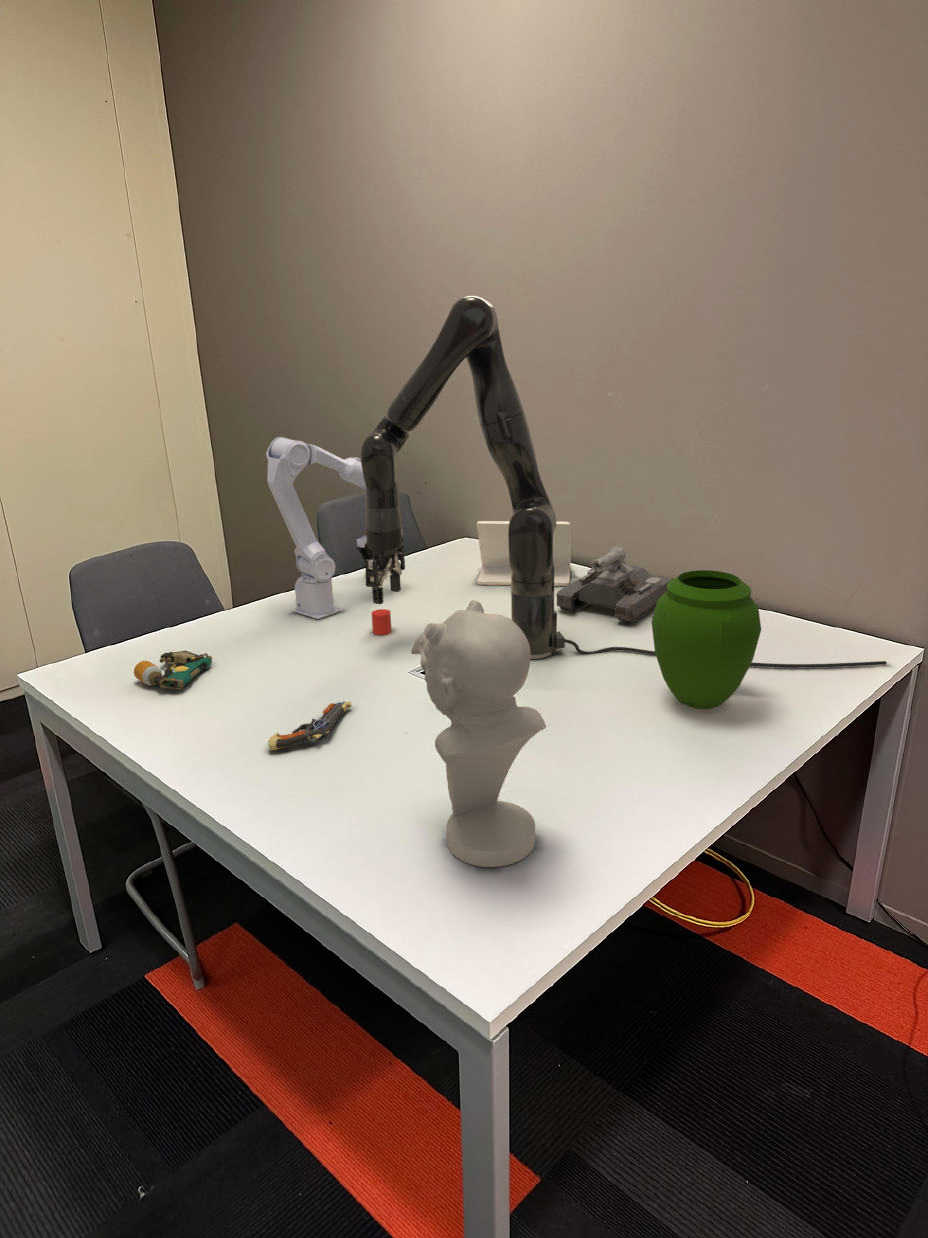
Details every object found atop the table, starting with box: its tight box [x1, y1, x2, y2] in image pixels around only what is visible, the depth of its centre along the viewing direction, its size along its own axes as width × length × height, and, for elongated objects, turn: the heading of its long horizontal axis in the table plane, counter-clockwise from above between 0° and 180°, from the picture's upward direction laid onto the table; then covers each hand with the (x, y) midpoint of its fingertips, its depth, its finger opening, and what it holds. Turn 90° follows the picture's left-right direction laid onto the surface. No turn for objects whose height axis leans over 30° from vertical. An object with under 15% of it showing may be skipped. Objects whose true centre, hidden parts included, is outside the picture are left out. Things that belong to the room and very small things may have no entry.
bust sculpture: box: [410, 599, 547, 868], centre depth 121 cm, size 16×24×35 cm
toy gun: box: [267, 700, 353, 751], centre depth 156 cm, size 3×19×10 cm
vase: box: [651, 569, 762, 710], centre depth 158 cm, size 20×20×24 cm
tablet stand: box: [476, 520, 572, 587], centre depth 236 cm, size 18×25×17 cm
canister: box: [371, 608, 392, 636], centre depth 201 cm, size 4×4×5 cm
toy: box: [556, 546, 675, 624], centre depth 212 cm, size 25×20×15 cm
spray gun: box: [133, 650, 213, 690], centre depth 180 cm, size 4×17×15 cm
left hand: (381, 567), depth 223 cm, fingers open, 7 cm apart
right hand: (387, 597), depth 188 cm, fingers open, 8 cm apart
